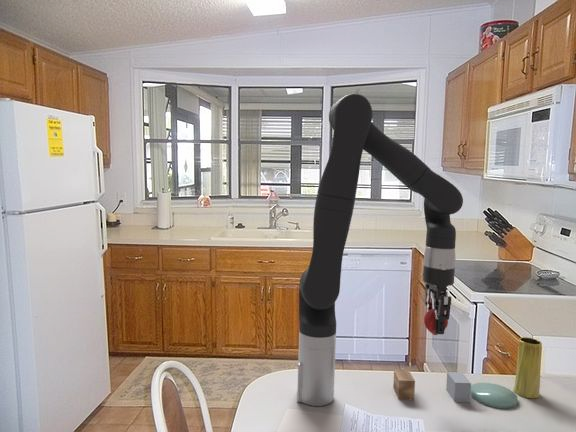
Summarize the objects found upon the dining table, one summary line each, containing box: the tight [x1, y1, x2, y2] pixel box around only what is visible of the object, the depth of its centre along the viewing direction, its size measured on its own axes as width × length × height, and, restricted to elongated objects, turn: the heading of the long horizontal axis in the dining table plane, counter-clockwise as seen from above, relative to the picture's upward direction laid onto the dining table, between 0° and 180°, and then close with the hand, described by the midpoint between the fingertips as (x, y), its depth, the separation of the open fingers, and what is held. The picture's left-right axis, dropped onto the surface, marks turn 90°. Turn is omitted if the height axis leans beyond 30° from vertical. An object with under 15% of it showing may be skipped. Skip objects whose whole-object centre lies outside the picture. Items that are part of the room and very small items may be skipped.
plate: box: [470, 382, 518, 409], centre depth 113 cm, size 11×11×1 cm
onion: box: [423, 305, 449, 336], centre depth 112 cm, size 6×6×8 cm
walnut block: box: [392, 369, 416, 401], centre depth 113 cm, size 4×6×5 cm, turn 178°
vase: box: [513, 336, 543, 399], centre depth 115 cm, size 6×6×14 cm
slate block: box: [445, 371, 472, 403], centre depth 113 cm, size 4×6×5 cm, turn 178°
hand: (435, 329), depth 112 cm, fingers closed on onion, 6 cm apart
